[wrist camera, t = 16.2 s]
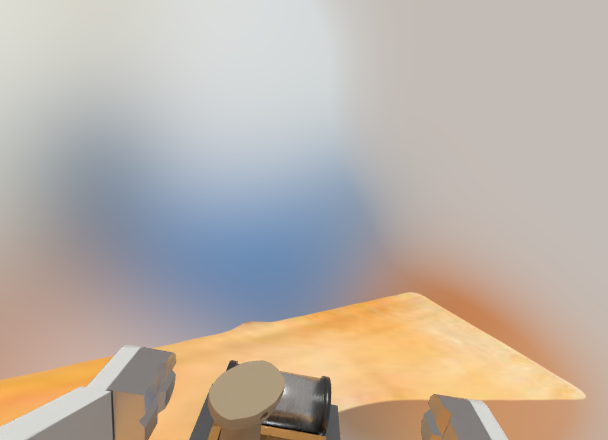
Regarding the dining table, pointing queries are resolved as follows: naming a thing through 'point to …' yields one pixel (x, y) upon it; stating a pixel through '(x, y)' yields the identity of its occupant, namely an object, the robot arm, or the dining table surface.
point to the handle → (245, 399)
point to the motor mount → (288, 413)
